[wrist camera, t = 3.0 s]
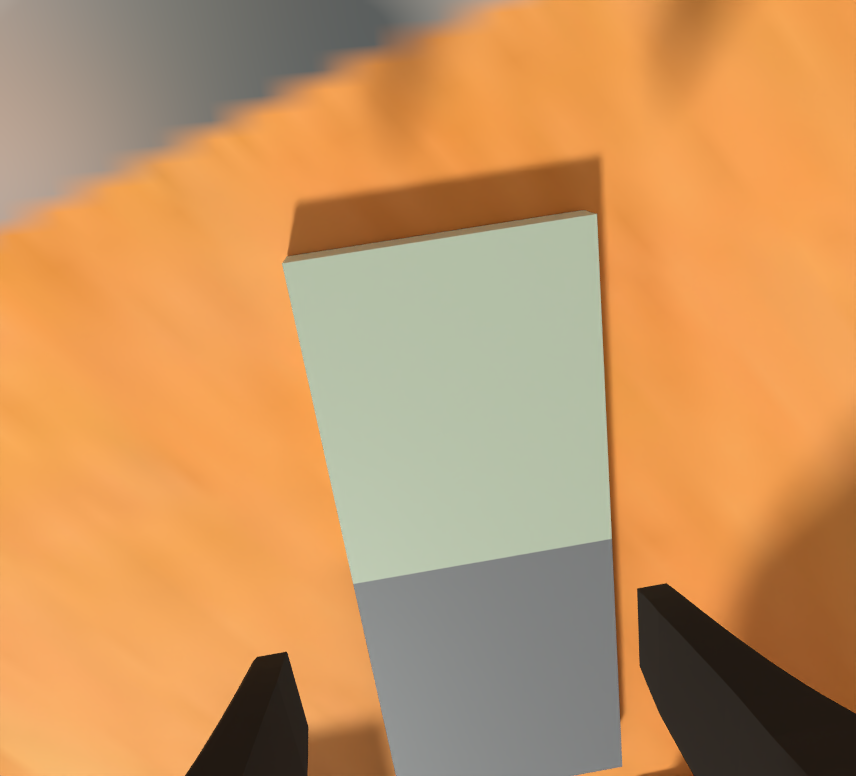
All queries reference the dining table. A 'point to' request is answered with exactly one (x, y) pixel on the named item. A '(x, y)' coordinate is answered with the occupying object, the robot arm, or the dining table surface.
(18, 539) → the dining table surface
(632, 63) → the dining table surface
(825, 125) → the dining table surface
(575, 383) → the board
